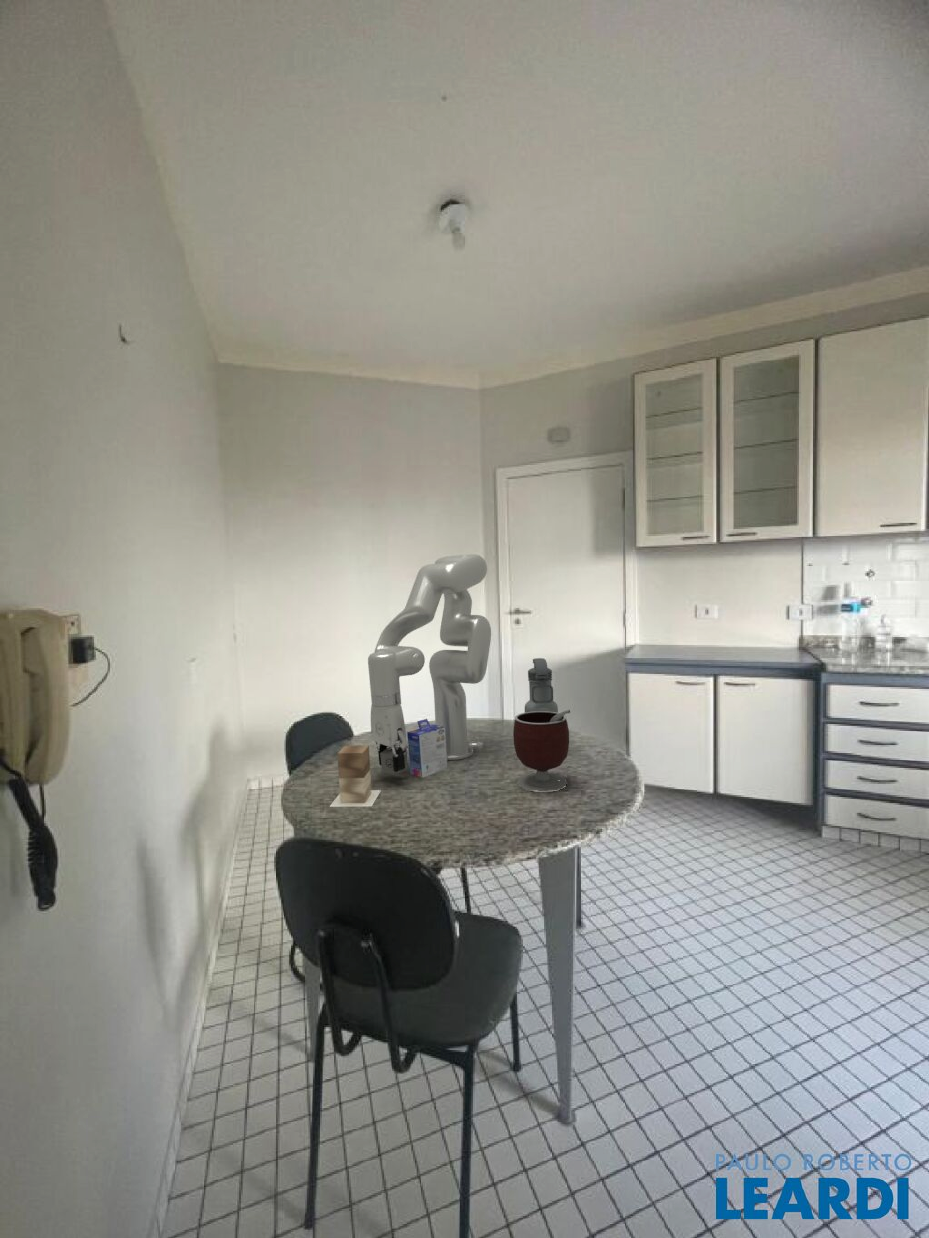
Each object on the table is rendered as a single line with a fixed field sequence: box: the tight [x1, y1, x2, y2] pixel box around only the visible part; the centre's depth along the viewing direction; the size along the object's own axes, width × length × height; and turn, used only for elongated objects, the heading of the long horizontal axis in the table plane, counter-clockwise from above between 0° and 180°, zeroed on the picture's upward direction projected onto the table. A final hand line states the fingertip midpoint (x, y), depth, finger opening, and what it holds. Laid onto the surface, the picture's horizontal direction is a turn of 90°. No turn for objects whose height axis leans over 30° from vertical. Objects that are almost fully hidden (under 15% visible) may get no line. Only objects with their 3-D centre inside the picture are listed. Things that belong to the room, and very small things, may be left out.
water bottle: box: [524, 657, 559, 713], centre depth 163 cm, size 10×10×28 cm
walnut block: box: [337, 744, 371, 779], centre depth 133 cm, size 6×6×6 cm
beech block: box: [338, 769, 372, 803], centre depth 133 cm, size 6×6×6 cm
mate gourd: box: [512, 709, 571, 791], centre depth 138 cm, size 16×14×20 cm
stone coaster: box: [329, 789, 382, 808], centre depth 133 cm, size 10×10×1 cm
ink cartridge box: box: [406, 718, 448, 778], centre depth 151 cm, size 10×6×14 cm, turn 137°
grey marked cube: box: [380, 746, 409, 774], centre depth 144 cm, size 5×5×5 cm
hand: (392, 766), depth 144 cm, fingers closed on grey marked cube, 6 cm apart
